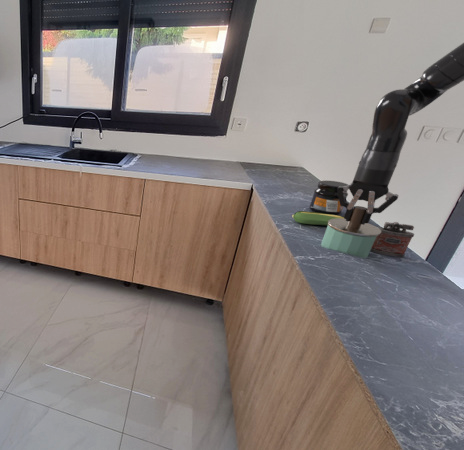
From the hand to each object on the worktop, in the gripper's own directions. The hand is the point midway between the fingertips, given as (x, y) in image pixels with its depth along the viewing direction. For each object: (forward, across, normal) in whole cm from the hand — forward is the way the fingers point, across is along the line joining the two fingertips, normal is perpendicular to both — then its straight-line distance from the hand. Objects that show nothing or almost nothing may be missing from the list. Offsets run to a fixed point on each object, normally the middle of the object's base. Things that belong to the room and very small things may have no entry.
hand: (355, 221), depth 94 cm
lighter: (+10, -9, -7) cm, 15 cm away
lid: (+2, 0, 0) cm, 2 cm away
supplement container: (+10, +12, -36) cm, 39 cm away
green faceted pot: (+10, 0, 0) cm, 10 cm away
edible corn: (+10, +9, -19) cm, 23 cm away
